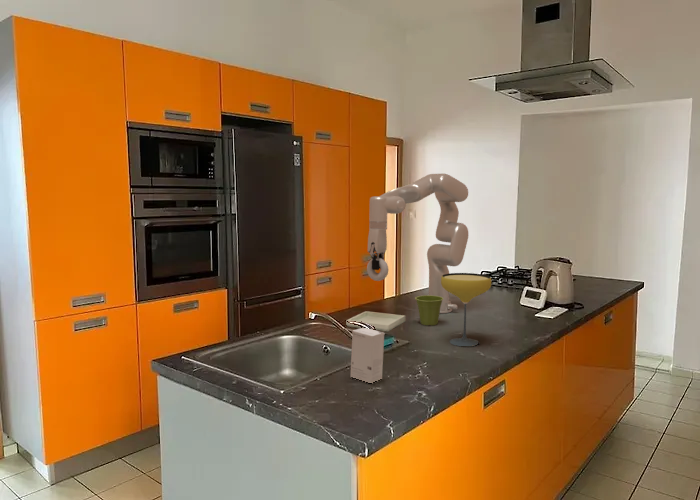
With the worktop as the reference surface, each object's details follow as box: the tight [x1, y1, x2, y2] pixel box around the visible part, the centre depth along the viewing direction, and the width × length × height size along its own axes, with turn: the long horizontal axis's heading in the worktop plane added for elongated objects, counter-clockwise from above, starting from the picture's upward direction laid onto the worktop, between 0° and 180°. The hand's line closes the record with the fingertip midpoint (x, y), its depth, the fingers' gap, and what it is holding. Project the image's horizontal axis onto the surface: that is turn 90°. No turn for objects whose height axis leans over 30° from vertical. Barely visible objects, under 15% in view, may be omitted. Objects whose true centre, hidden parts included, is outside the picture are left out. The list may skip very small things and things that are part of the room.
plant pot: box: [414, 294, 443, 327], centre depth 223 cm, size 12×12×11 cm
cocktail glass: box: [441, 272, 492, 347], centre depth 194 cm, size 18×18×25 cm
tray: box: [345, 310, 406, 332], centre depth 224 cm, size 19×19×2 cm
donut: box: [366, 258, 389, 282], centre depth 223 cm, size 10×4×10 cm, turn 59°
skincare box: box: [350, 328, 385, 384], centre depth 157 cm, size 8×6×15 cm
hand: (377, 268), depth 223 cm, fingers closed on donut, 3 cm apart
